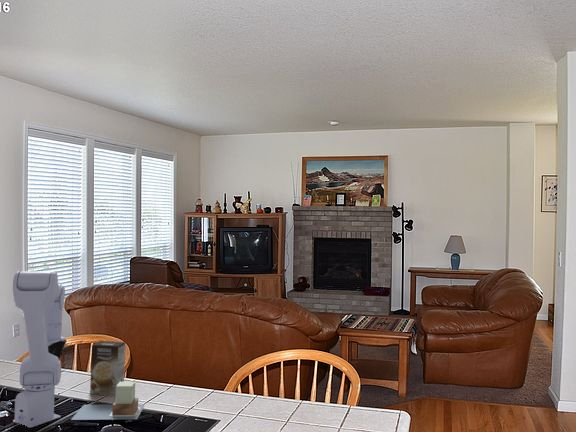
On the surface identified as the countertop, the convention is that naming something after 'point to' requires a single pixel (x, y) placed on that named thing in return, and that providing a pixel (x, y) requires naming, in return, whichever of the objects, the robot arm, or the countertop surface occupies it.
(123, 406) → the walnut block
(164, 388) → the countertop surface
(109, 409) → the light blue flat board
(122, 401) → the sage block
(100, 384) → the coffee box
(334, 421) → the countertop surface
